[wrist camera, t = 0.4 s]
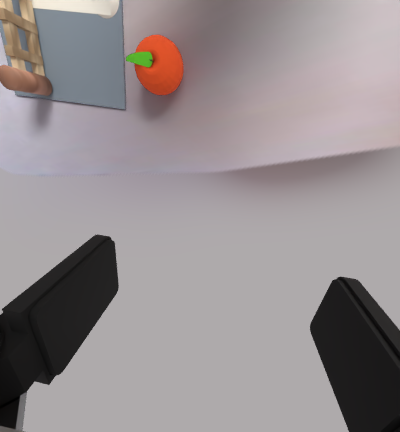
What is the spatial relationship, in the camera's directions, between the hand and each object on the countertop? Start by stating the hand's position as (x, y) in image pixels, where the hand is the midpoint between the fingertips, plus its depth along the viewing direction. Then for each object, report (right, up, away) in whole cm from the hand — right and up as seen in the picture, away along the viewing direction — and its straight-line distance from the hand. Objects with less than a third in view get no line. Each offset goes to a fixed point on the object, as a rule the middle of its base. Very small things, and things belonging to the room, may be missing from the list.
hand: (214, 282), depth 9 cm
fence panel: (-27, +30, +24) cm, 47 cm away
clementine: (-6, +26, +23) cm, 35 cm away
